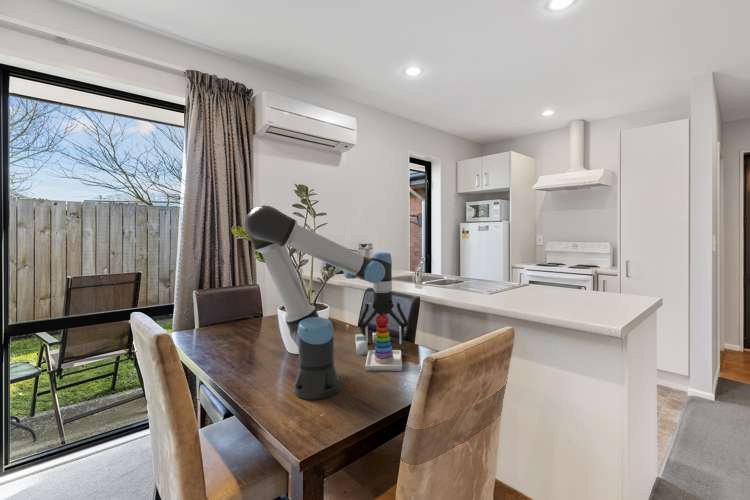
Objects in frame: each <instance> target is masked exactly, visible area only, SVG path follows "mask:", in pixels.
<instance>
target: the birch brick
mask: <svg viewBox="0 0 750 500" xmlns="http://www.w3.org/2000/svg"><path fill="white" fill-rule="evenodd" d="M375 338H376V332H372V343H373V344H375V342H376V339H375Z"/></svg>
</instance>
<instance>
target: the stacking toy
mask: <svg viewBox="0 0 750 500" xmlns="http://www.w3.org/2000/svg"><path fill="white" fill-rule="evenodd" d="M375 323H376V325H377V326H376V328H375V329H376V332H375V333H376V338H375V339H376V342H375V343H374V344H375V347H374V350H375V353H374V354H375V357H374V360H375V361H376V362H378V363H389V362H391V361H393V359H394V357H393V351H392V350H393V347H392V341H391V337H390V331H389V330H390V329H389V328H390V327H389V326H388V325H389V318H388V316H387V315H385V314H381V315H379V314H378V315H377V316H376V318H375Z"/></svg>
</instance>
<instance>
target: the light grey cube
mask: <svg viewBox="0 0 750 500" xmlns="http://www.w3.org/2000/svg"><path fill="white" fill-rule="evenodd" d="M368 350H369V349H368V344H366V340H365V341H364V340H361V341H357V342H356V343H355V354H356V355H357V356H367V354H368Z"/></svg>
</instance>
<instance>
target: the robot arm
mask: <svg viewBox="0 0 750 500" xmlns="http://www.w3.org/2000/svg"><path fill="white" fill-rule="evenodd" d="M244 230H245V232H246V233H247V235H248V237H249V239H250V240H251V241H250V242H251V243H252V246H253V248H254V250H255V251H256V252H257V253H261V255H262V258H263V260H264V262H265V265H266V267H267V269H268V271H269V274H270V277H271V279H272V281H273V284H274V286H275V289H276V291H277V293H278V296H279V298H280V300H281V303H282V304H283V307H284V309H285V312H286V316H285V318H284V320H285V323H286V325H287V327H288V331H289V335H290V337H291V339H292V340H293V342H294V343H295V345H296V347H297V348H298V372H297V375H296V378H295V382H294V387H293V389H294V394H295V396H297V397H298V398H300V399H304V400H309V401H310V400H314V401H315V400H322V399H328V398H330V397H333V396H334V395H336V394H337V393H338V392H339V391H340V389H341V382H340V378H339V375H338V372H337V370H336V367H335V352H334V351H335V349H334V348H335V347H334V345H335V343H334V342H335V341H334V340H335V338H334V336H335V335H334V333H335V332H334V326H333V323H332V321H331V320H330V319H328V318H327V317H324V318H323V317H322V316H321V317H320V316H319V313H318V310H317V308H316V306H314V305H313V304H310V303H309V300H308V297H307V296H306V293H305V290H304V288H303V285H302V283H301V281H300V278H299V276H298V273H297V270H296V268H295V266H294V264H293V260H292V259H291V256H290V254H289V251H288V249H287V247H291V248H292V249H294V250H297V251H300V252H302V253H304V254H306V255H308V256H311V257H312V258H315V259H317V260H319V261H321V262H324V263H326V264H328V265H331V266H333V267H335V268H337V269H340V270H341V271H343V276H344V277H345V278H346V279H348V280H349V279H352V280H353V279H360V280H361V281H366V282H367V283H371V284H373V285H372V287H373V288H372V289H373V293H372V294H373V295H372V296H373V302H372V303H370V302H366V304H365V308H364V311H363V313H362V315H361V316H360V320H359V321H358V324H357V326H358V327H360V328H362V334H363V336H365V341H366V344H367V345H368V343H369V336H368V335H369V332H368V331H369V330H368V329H369V326H368V325H369V324H370V322H371V321H372V320H373V318H375V316H376V315H377V314H378V315H381V314H384V315H386V316H387V315H388V314H389V316H390V317H392V318H393V319H394V321H395V322H396V323H397V324H398V325H399V326H398V327H399V328H398V329H399V330H398V332H399V336H398V337H399V341H398V342H399V345H402V336H405V327H409V321H408V319H407V318H406V316H405V314H404V312H403V310H402V308H401V303H400V302H395V303H393V291H392V290H393V275H392V269H393V267H392V265H393V263H392V261H393V260H392V254H391V253H389V252H374V253H373V254H372V257H369V258H368V257H366V256H364V255H362V254H359V253H358V252H356V251H354V250H352V249H349V248H347V247H346V246H344V245H341V244H340V243H337V242H335V241H333V240H331V239H329V238H326V237H325V236H322V235H321V234H319V233H316V232H315V231H312V230H310V229H308V228H306V227H304V226H302V225H299V224H298V220H296V219H294V218H292V217H291V216H289V215H287V214H285V213H283V212H281V210H279V209H277V208H275V207H273V206H270V205H266V204H264V205H259V206H256V207H254V208H252V209H251V210H250V211H249V212H248V213H247V215H246V217H245V219H244ZM371 308H373V311H372V313H371V314H370V316H368V318H367V319H366V320H365V317H366V316H367V313H368V312H369V310H370V309H371ZM393 308H395V309H397V311H398V313H399V315H400V317H401V319H402V320H401V319H400V318H399V317H398V316H397V315H396V313H394V311H393V310H392V309H393ZM363 322H364V323H363Z"/></svg>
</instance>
